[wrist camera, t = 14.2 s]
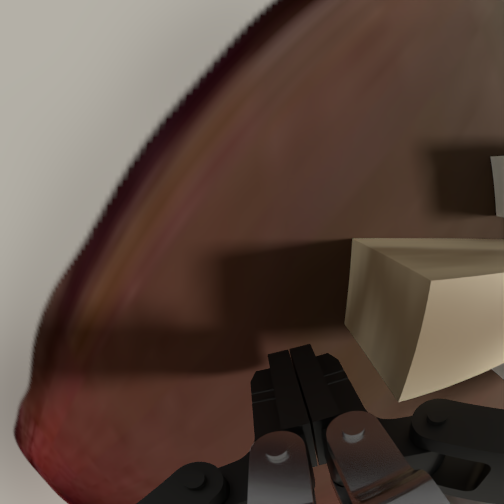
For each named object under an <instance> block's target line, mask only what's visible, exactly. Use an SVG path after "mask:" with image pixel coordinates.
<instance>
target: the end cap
mask: <svg viewBox="0 0 504 504" xmlns="http://www.w3.org/2000/svg"><path fill="white" fill-rule="evenodd" d="M490 158H491V165H492V172H493V181H494V191H495V204H496V216H499V217H503V218H504V156H490ZM492 370H493V371H494V372H495V373H497V374H498V375H499V376H500V377H501V378H502V379H503V380H504V363H503V364H501V365H499V366H497V367H494V368H492Z"/></svg>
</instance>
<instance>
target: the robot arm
mask: <svg viewBox="0 0 504 504" xmlns="http://www.w3.org/2000/svg"><path fill="white" fill-rule="evenodd" d="M290 355H291V357H290ZM268 359H269V365H270V368H269V369H265V370H260V371H256V372H255V374H254V376H253V378H252V380H251V393H252V403H253V404H252V407H253V420H254V432H255V441H254V444H253V445H252V447H251V449H250V451H249V452H248V454H246V455H245V456H244V457H243V458H241V459H240V460H238V461H235V462H233V463H230V464H228V465H225V466H222V467H220V468H217V467H216V466H214V465H212V464H210V463H206V462H193V463H189V464H187V465H184V466H182V467H181V468H179V469H178V470H177V471H176V472H174V473H173V474H172V475H171V476H170V477H169V478H167V479H166V480H165V481H164V482H163V483H162V484H160V485H159V486H158V487H157V488H156V489H154V490H153V491H152V492H151V493H149V494H148V495H147V496H146V497H144V498H143V499H142V500H141V501H139V502H138V503H137V504H316V498H315V490H314V487H315V478H314V473H313V468H312V467H315V466H317V460H316V455H317V458H318V462H319V465H322V464H326V463H327V466H328V469H329V472H330V477H331V483H332V486H333V488H334V491H335V493H336V496H337V498H338V500H339V503H340V504H504V410H503V409H496V408H490V407H484V406H478V405H472V404H467V403H461V402H456V401H451V400H447V399H433V400H429V401H427V402H425V403H423V404H421V405H420V406H419V407H418V408H417V409H416V410H415V412H414V414H413V416H410V417H404V418H397V419H380V418H377V417H375V416H374V415H372V414H370V413H368V412H367V411H366V410H365V408H364V407H363V405H362V403H361V401H360V399H359V397H358V395H357V393H356V392H355V390H354V388H353V386H352V384H351V382H350V381H349V379H348V377H347V375H346V373H345V371H344V370H343V368H342V366H341V364H340V362H339V360H338V359H336V358H335V357H333V356H332V355H330V354H328V353H326V354H323V355H320V356H315V354H314V352H313V349H312V347H311V345H310V344H307V345H303V346H300V347H296V348H292V349H290V354H289V351H288V350H284V351H280V352H276V353H272V354H268ZM291 360H292V361H291ZM315 451H316V454H315Z"/></svg>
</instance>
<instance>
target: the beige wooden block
mask: <svg viewBox="0 0 504 504" xmlns="http://www.w3.org/2000/svg"><path fill="white" fill-rule="evenodd" d="M344 324H345V326H346V327H347V328H348V330H349V331H350V333H351V334H352V335H353V337H354V338H355V340H356V341H357V343H358V344H359V345H360V347H361V348H362V350H363V351H364V352H365V354H366V355H367V357H368V358H369V360H370V361H371V363H372V364H373V365H374V367H375V368H376V370H377V371H378V373H379V374H380V376H381V377H382V379H383V380H384V382H385V383H386V384H387V386H388V387H389V389H390V390H391V392H392V393H393V395H394V396H395V398H396V399H397V401H398V402H401V401H405V400H408V399H412V398H415V397H418V396H422V395H425V394H428V393H431V392H434V391H437V390H440V389H443V388H446V387H449V386H451V385H454V384H457V383H459V382H462V381H464V380H467V379H469V378H472V377H474V376H477V375H479V374H481V373H483V372H486V371H488V370H490V369H492V368H494V367H497V366H499V365H501V364H503V363H504V239H463V238H352V251H351V265H350V277H349V287H348V297H347V306H346V314H345V322H344Z"/></svg>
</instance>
